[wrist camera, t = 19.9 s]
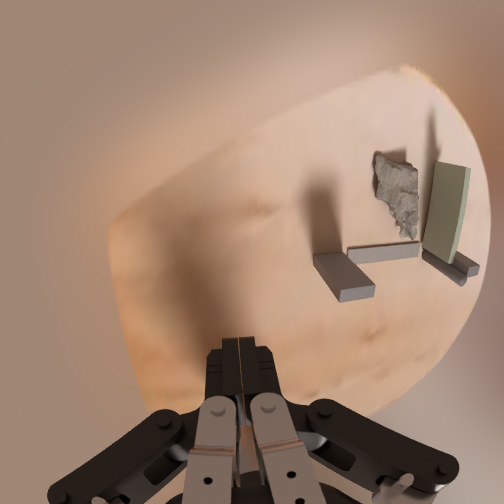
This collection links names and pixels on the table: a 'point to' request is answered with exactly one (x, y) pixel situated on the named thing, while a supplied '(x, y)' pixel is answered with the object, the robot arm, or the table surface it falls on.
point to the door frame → (357, 283)
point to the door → (446, 210)
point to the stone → (399, 193)
